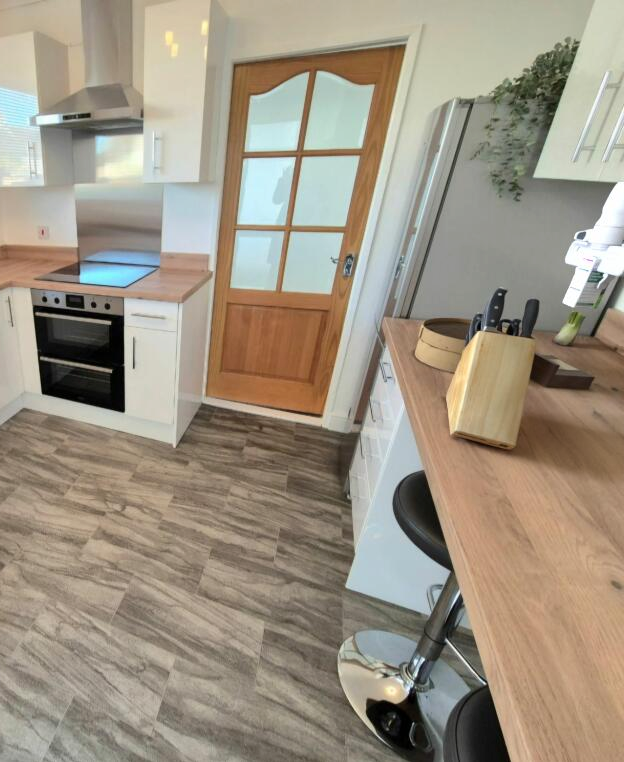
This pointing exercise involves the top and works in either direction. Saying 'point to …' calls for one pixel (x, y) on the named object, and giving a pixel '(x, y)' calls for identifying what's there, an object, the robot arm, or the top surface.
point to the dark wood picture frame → (558, 373)
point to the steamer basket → (443, 342)
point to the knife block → (493, 376)
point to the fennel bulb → (570, 329)
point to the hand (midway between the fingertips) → (588, 285)
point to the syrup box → (585, 285)
